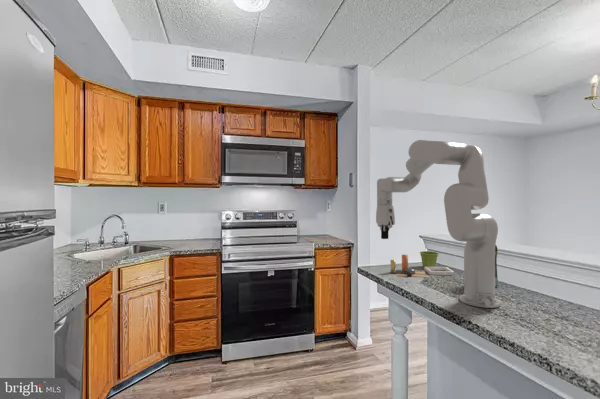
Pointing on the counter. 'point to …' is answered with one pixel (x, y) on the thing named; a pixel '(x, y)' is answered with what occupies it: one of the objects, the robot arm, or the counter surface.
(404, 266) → the pin
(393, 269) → the crank
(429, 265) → the plant pot
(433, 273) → the tray
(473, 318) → the counter surface
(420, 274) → the crank base
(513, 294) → the counter surface
